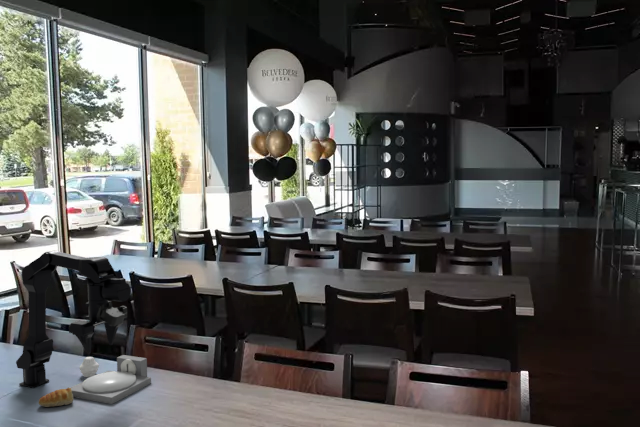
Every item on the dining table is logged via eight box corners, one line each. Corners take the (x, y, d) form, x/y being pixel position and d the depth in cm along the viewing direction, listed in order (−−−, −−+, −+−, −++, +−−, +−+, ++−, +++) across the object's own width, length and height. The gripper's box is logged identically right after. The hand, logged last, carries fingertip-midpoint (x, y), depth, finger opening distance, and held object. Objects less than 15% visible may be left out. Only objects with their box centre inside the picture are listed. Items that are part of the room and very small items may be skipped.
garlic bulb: (76, 377, 193) (75, 357, 192) (93, 372, 197) (92, 352, 197) (85, 381, 189) (84, 360, 188) (102, 376, 193) (102, 356, 193)
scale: (66, 395, 176) (65, 373, 176) (114, 373, 196) (113, 353, 195) (111, 404, 170) (111, 381, 169) (157, 380, 189) (156, 359, 189)
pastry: (40, 410, 164) (40, 397, 164) (37, 402, 170) (36, 390, 170) (75, 403, 170) (74, 390, 170) (70, 395, 175) (70, 383, 175)
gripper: (96, 307, 161) (98, 361, 162) (140, 294, 178) (141, 343, 179) (66, 304, 165) (68, 357, 166) (112, 292, 183) (113, 339, 184)
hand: (100, 349), depth 174 cm, fingers open, 9 cm apart
